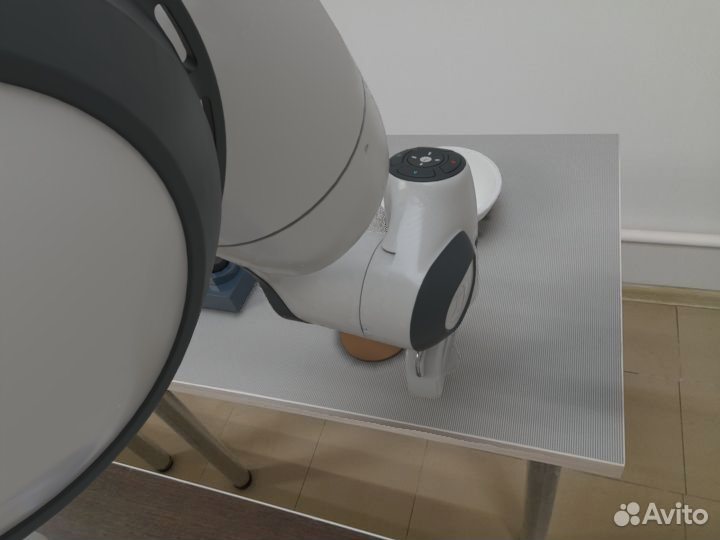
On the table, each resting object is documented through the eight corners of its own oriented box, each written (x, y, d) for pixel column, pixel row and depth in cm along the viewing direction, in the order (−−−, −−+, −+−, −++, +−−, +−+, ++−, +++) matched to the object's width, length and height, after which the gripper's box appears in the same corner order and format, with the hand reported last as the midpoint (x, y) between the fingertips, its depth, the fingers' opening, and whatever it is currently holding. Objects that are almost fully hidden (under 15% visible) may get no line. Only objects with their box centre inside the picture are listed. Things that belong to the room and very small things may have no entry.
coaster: (401, 367, 76) (400, 365, 75) (331, 355, 79) (330, 353, 79) (418, 307, 82) (418, 305, 82) (353, 299, 86) (352, 297, 86)
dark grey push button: (222, 274, 88) (218, 266, 86) (202, 271, 89) (197, 263, 87) (233, 257, 90) (228, 248, 88) (213, 254, 91) (209, 246, 90)
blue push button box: (238, 312, 89) (225, 290, 84) (194, 306, 92) (179, 284, 87) (264, 264, 95) (253, 242, 91) (222, 260, 98) (210, 237, 94)
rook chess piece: (421, 370, 69) (415, 337, 63) (433, 343, 72) (428, 309, 66) (453, 380, 67) (450, 347, 61) (464, 352, 70) (462, 317, 64)
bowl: (414, 278, 86) (408, 244, 80) (367, 206, 101) (359, 173, 95) (525, 230, 89) (528, 194, 83) (464, 167, 103) (463, 131, 97)
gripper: (447, 363, 50) (453, 429, 60) (480, 218, 62) (480, 292, 72) (384, 353, 52) (400, 418, 62) (428, 214, 64) (435, 286, 74)
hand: (443, 349), depth 67 cm, fingers closed on rook chess piece, 3 cm apart
